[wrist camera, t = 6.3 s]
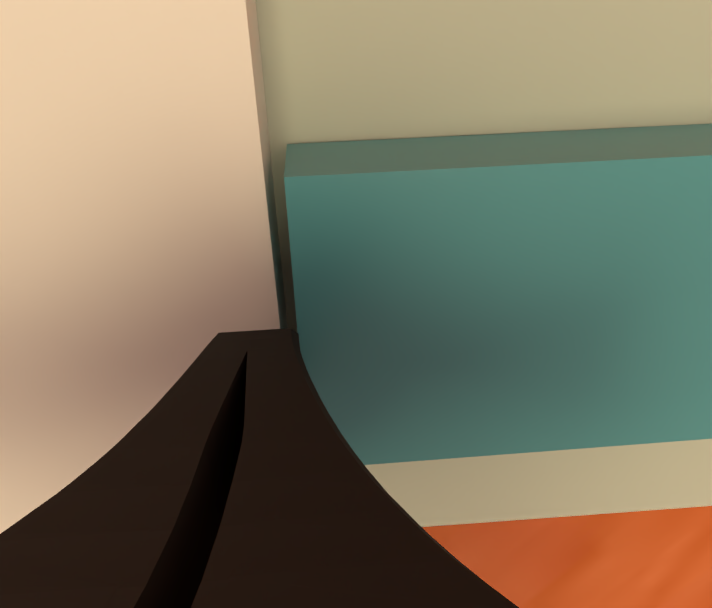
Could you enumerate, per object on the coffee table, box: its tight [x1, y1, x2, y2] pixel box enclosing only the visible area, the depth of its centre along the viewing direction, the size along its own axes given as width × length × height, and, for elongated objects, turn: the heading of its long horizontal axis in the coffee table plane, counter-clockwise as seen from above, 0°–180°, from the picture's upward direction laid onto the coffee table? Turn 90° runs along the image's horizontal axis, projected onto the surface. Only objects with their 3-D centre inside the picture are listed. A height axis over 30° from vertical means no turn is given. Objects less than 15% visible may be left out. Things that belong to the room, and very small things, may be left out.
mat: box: [256, 0, 712, 527], centre depth 13 cm, size 14×14×1 cm
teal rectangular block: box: [284, 124, 712, 465], centre depth 12 cm, size 6×10×2 cm, turn 92°
